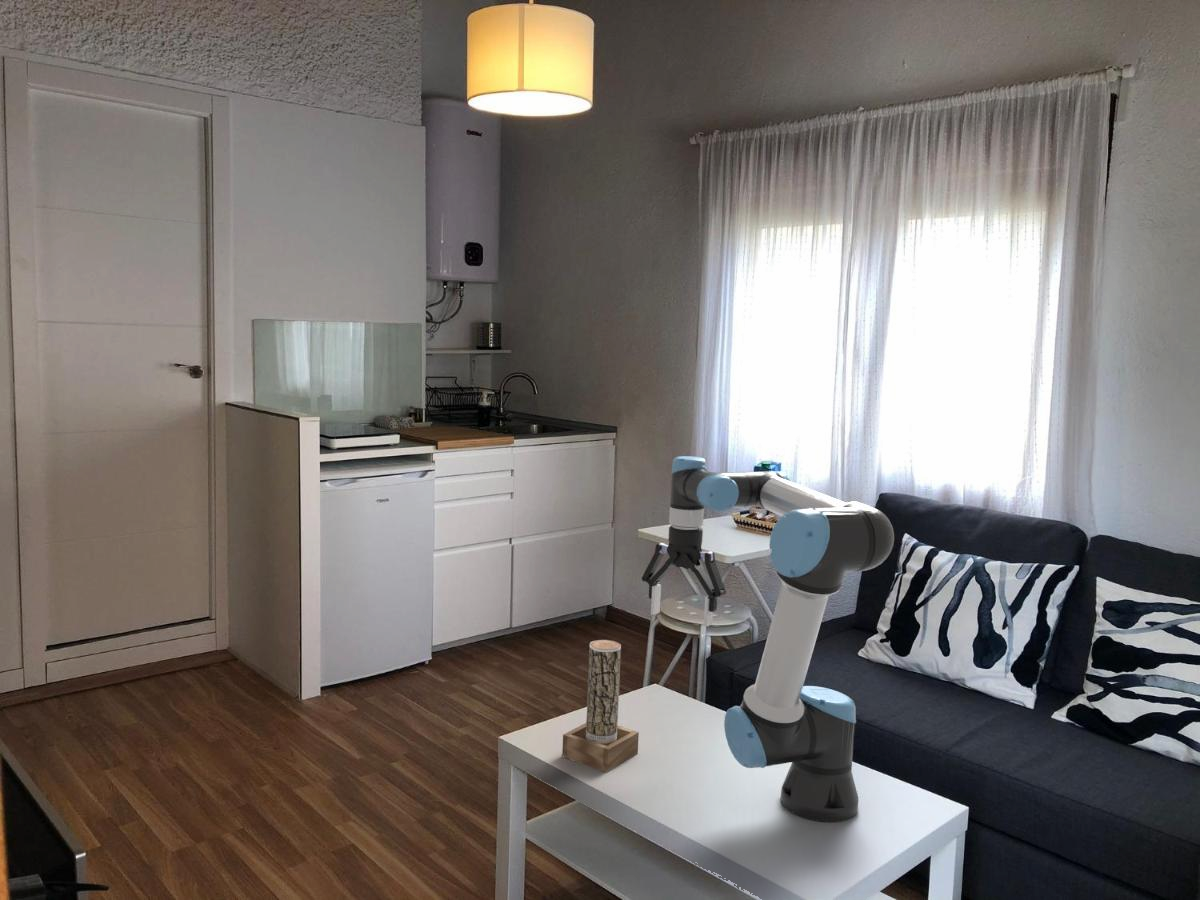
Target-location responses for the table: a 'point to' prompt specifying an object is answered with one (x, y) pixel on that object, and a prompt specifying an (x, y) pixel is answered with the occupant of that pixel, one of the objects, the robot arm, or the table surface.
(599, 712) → the paper tube
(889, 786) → the table surface
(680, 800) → the table surface
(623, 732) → the holder
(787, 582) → the robot arm
